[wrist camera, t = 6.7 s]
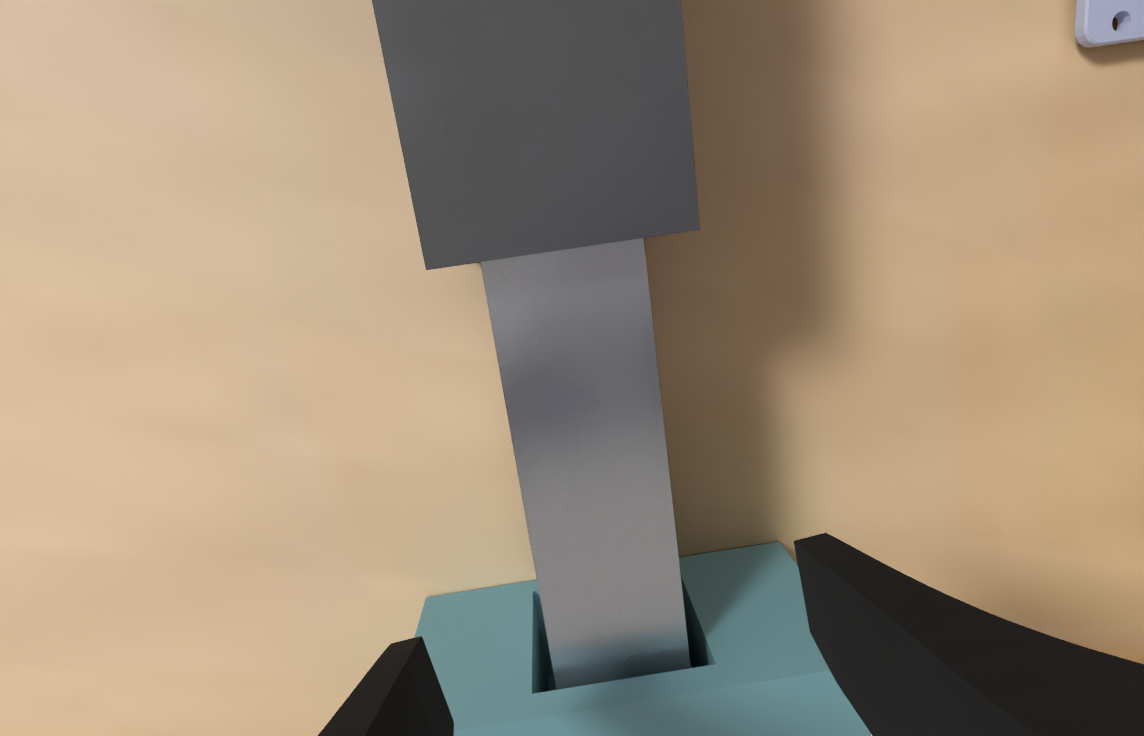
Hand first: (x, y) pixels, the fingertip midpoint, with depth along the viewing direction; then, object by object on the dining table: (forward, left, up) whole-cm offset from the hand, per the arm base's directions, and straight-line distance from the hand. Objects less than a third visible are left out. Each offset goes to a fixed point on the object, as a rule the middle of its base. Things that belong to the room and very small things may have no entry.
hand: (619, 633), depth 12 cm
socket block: (0, +7, -8) cm, 11 cm away
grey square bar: (0, -2, -7) cm, 8 cm away
